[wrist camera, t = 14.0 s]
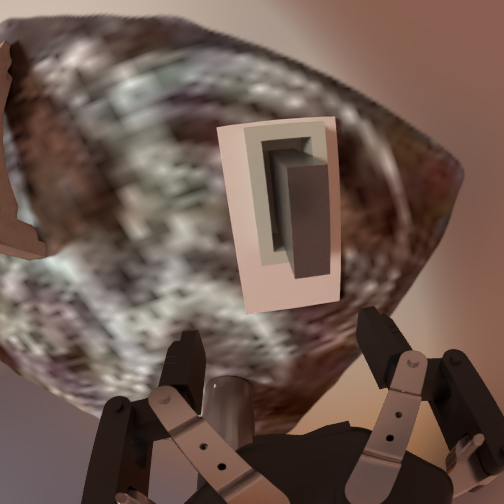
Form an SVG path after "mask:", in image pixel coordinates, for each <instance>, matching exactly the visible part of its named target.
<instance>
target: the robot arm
mask: <svg viewBox="0 0 504 504" xmlns="http://www.w3.org/2000/svg"><path fill="white" fill-rule="evenodd" d="M356 337H357V342H358V344H359V347H360V349H361V351H362V353H363V355H364V357H365V359H366V361H367V363H368V365H369V367H370V370H371V372H372V374H373V376H374V378H375V380H376V382H377V384H378V387H379V389H383V388H388V390H389V391H388V394H387V397H386V399H385V402H384V404H383V407H382V410H381V412H380V415H379V417H378V419H377V422H376V425H375V426H374V429H373V431H371V430H369V429H365V428H361V427H350V424H349V421H345V422H341V423H336V424H331V425H327V426H324V427H322V428H319V429H317V430H315V431H312V432H309V433H307V434H304V435H289V434H268V435H259V436H255V422H254V401H253V388H252V386H251V385H250V384H249V383H248V382H247V381H245V380H244V379H241V378H238V377H232V376H223V377H218V378H214V379H212V380H210V381H209V382H208V383H207V384H206V386H205V393H204V403H203V414H202V417H199V416H198V415H201V409H202V398H203V388H204V378H205V369H206V355H205V351H204V347H203V344H202V341H201V337H200V334H199V331H198V330H187V331H183V332H182V335H181V340H180V341H174V342H173V343H172V344H171V346H170V347H169V348H168V351H167V354H166V358H165V362H164V363H165V364H164V366H163V370H162V374H161V378H160V382H159V386H158V387H157V388H155V389H154V390H153V391H152V392H151V393H150V394H149V397H148V398H146V399H142V400H138V401H134V402H130V400H129V399H128V398H126V397H123V396H116V397H113V398H111V399H110V400H108V401H107V402H106V404H105V406H104V409H103V412H102V415H101V419H100V423H99V426H98V430H97V434H96V438H95V442H94V446H93V450H92V454H91V458H90V462H89V467H88V471H87V476H86V481H85V486H84V491H83V496H82V502H81V504H156V503H154V502H153V501H152V500H150V499H149V498H148V489H149V477H150V467H151V457H152V448H153V441H157V440H161V439H165V438H169V437H171V438H172V440H173V441H174V442H175V444H176V445H177V446H178V448H179V449H180V450H181V452H182V453H183V454H184V456H185V457H186V458H187V459H188V460H189V462H190V463H191V464H192V466H193V467H194V468H195V469H196V471H197V472H198V482H197V491H196V492H195V493H194V494H193V495H192V496H191V497H190V498H189V499H188V500H187V501H186V502H185V503H184V504H452V500H453V498H455V497H457V496H459V495H461V494H463V493H465V492H467V491H468V492H475V491H478V490H479V489H481V488H482V487H483V486H485V485H486V484H487V483H489V482H490V481H491V480H493V479H494V478H495V477H497V476H498V475H499V474H500V473H501V472H502V471H504V416H503V414H502V412H501V411H500V409H499V407H498V406H497V404H496V402H495V400H494V398H493V397H492V395H491V393H490V392H489V390H488V388H487V387H486V385H485V384H484V382H483V380H482V379H481V377H480V376H479V374H478V372H477V371H476V369H475V368H474V366H473V365H472V363H471V362H470V360H469V359H468V357H467V356H466V355H465V354H464V353H463V352H462V351H460V350H456V349H451V350H448V351H446V352H445V353H444V355H443V357H442V358H432V359H429V358H426V356H425V355H424V354H422V353H421V352H419V351H414V350H412V348H411V346H410V345H409V343H408V342H407V340H406V339H405V337H404V336H403V335H402V333H401V332H400V330H399V328H398V327H397V326H396V324H395V323H394V321H393V320H392V319H391V318H390V317H388V316H387V315H385V314H381V315H380V314H379V312H378V311H377V309H376V308H375V307H374V306H371V307H366V308H361V309H359V313H358V322H357V330H356ZM421 401H428V402H429V404H430V406H431V409H432V411H433V413H434V415H435V418H436V420H437V422H438V425H439V427H440V429H441V432H442V434H443V436H444V438H445V441H446V444H447V446H448V449H449V451H450V452H449V453H448V455H447V457H446V472H445V471H444V470H443V469H441V468H439V467H437V466H435V465H433V464H431V463H429V462H427V461H425V460H423V459H422V458H420V457H418V456H416V455H414V454H412V453H410V452H409V451H407V450H406V448H407V445H408V442H409V439H410V436H411V433H412V430H413V427H414V423H415V420H416V417H417V413H418V410H419V405H420V402H421Z"/></svg>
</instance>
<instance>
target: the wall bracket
mask: <svg viewBox="0 0 504 504" xmlns="http://www.w3.org/2000/svg"><path fill="white" fill-rule="evenodd" d="M10 47H11V46H10V44H9V43H8V42H7V41H6V40H5V41H4V42H2V43H1V44H0V253H2V254H6V255H10V256H14V257H18V258H21V259H26V260H34V259H39V258H43V257H46V243H45V242H42V241H39V240H38V236H37V232H36V230H35V228H34V227H33V226H32V225H30V224H27V223H25V222H22V221H20V220H17V210H18V205H17V202H16V199H15V196H14V193H13V190H12V187H11V184H10V180H9V177H8V173H7V167H6V161H5V155H4V147H3V120H4V108H5V104H6V100H7V96H8V93H9V89H10V86H11V83H12V76H11V75H10V74H9V73H8V72H7V71H8V69H9V68H10V66H11V64H12V59H11V57H10Z"/></svg>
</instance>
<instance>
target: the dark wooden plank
mask: <svg viewBox="0 0 504 504" xmlns="http://www.w3.org/2000/svg"><path fill="white" fill-rule="evenodd" d="M268 153H269V162H270V171H271V181H272V190H273V200H274V210H275V221H276V225H277V228H278V231H279V233H280V236H281V239H282V242H283V245H284V248H285V251H286V254H287V257H288V260H289V263H290V266H291V269H292V272H293V275H294V278H295V279H300V278H307V277H314V276H321V275H328V274H330V204H329V180H328V164H326V163H324V162H322V161H320V160H317V159H315V158H313V157H311V156H309V155H307V154H305V153H303V152H300V151H298V150H296V149H294V148H292V149H281V150H270V151H268Z"/></svg>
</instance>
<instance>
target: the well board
mask: <svg viewBox="0 0 504 504" xmlns="http://www.w3.org/2000/svg"><path fill="white" fill-rule="evenodd" d="M217 132H218V139H219V146H220V153H221V159H222V166H223V173H224V179H225V186H226V192H227V199H228V205H229V211H230V218H231V224H232V230H233V236H234V243H235V249H236V255H237V261H238V267H239V273H240V279H241V285H242V291H243V297H244V302H245V308H246V314H251V313H259V312H267V311H275V310H282V309H289V308H296V307H303V306H309V305H316V304H322V303H328V302H334V301H339V300H340V273H341V207H340V179H339V161H338V146H337V134H336V123H335V117H312V118H295V119H282V120H271V121H262V122H253V123H245V124H237V125H230V126H223V127H217ZM292 148H294V149H296V150H298V151H300V152H303V153H305V154H307V155H309V156H311V157H313V158H315V159H317V160H320V161H322V162H324V163H326V164H328V180H329V204H330V274H328V275H321V276H314V277H307V278H300V279H295V278H294V275H293V272H292V269H291V266H290V263H289V260H288V257H287V254H286V251H285V248H284V245H283V242H282V239H281V236H280V233H279V231H278V228H277V225H276V221H275V210H274V200H273V190H272V181H271V171H270V162H269V153H268V151H270V150H281V149H292Z"/></svg>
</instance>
